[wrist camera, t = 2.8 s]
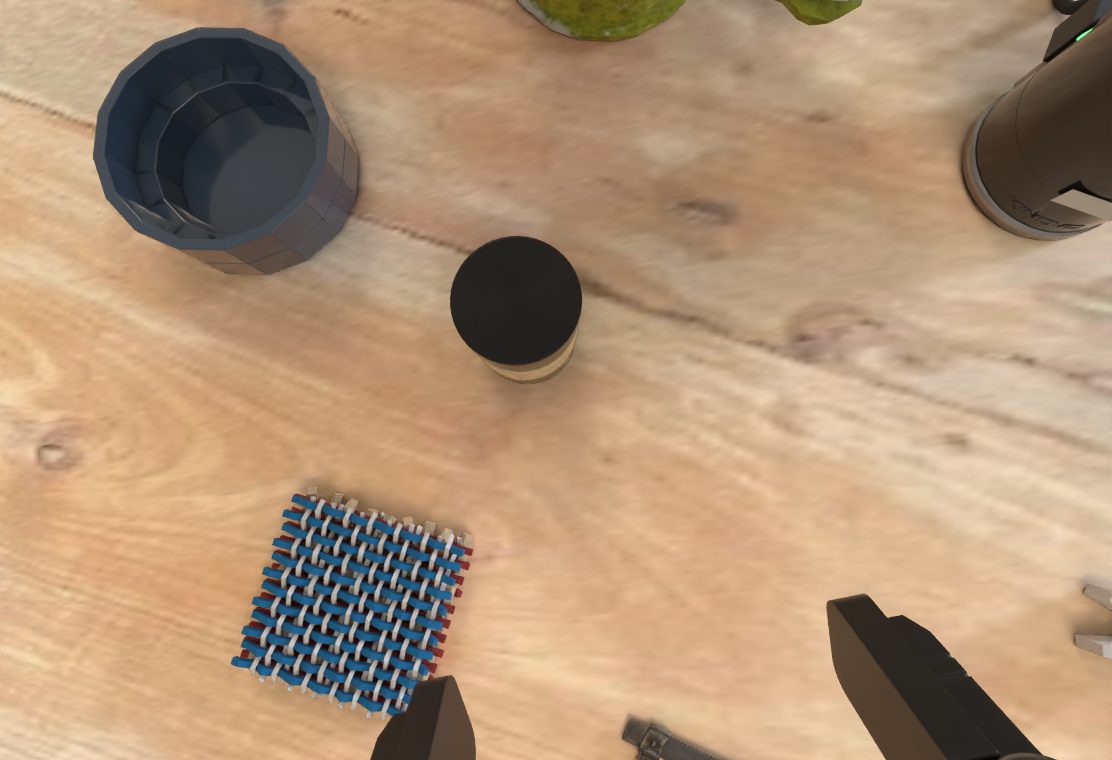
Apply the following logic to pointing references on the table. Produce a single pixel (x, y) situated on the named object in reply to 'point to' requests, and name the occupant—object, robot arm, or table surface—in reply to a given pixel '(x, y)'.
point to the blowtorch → (650, 15)
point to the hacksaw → (659, 743)
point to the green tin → (518, 307)
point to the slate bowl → (226, 151)
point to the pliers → (1097, 643)
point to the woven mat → (338, 602)
